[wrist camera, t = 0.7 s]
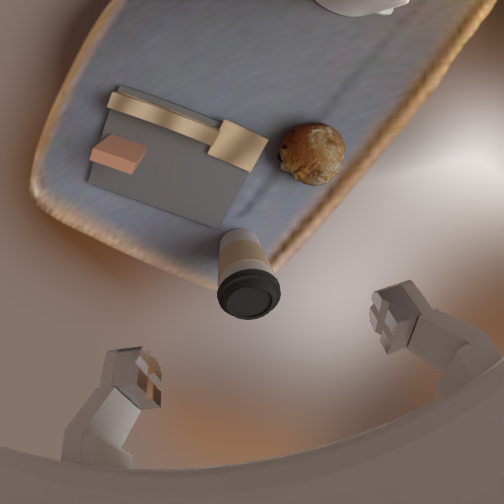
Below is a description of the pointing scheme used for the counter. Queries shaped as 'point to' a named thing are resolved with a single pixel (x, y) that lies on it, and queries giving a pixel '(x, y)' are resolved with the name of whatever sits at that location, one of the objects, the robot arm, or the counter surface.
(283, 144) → the bread roll
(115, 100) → the spatula
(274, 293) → the coffee cup
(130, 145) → the tile
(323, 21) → the counter surface
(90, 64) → the counter surface
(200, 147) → the mat
